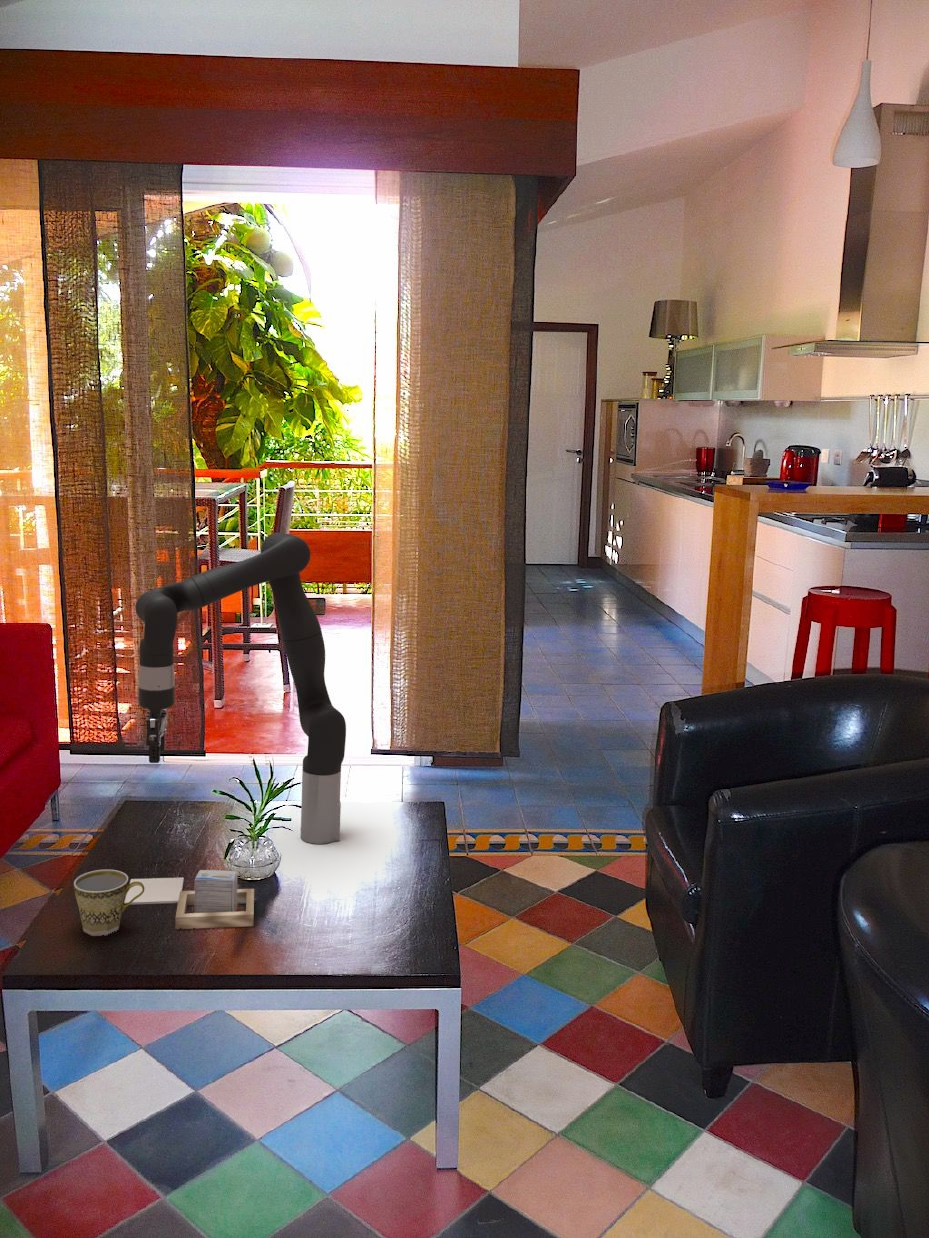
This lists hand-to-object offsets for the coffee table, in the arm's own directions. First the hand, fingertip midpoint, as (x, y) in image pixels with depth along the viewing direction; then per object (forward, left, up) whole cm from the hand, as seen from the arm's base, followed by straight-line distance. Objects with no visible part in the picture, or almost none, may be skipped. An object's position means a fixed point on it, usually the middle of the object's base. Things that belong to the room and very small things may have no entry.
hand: (157, 756), depth 222 cm
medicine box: (-14, +24, -26) cm, 38 cm away
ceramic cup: (+6, +28, -26) cm, 39 cm away
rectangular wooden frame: (-14, +24, -26) cm, 38 cm away
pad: (-1, +13, -26) cm, 29 cm away
